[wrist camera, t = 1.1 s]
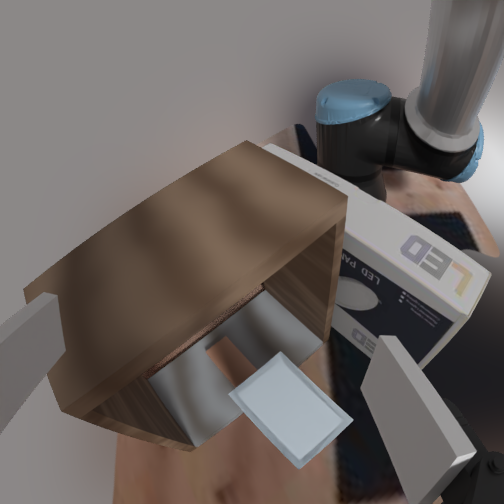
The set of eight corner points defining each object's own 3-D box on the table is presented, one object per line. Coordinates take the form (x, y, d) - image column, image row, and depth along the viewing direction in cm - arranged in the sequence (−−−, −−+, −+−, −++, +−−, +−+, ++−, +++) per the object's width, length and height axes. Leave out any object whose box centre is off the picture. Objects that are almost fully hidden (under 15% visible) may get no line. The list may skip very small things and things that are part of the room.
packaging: (255, 263, 53) (233, 163, 38) (282, 242, 55) (270, 141, 40) (404, 386, 36) (469, 318, 21) (428, 353, 38) (492, 272, 23)
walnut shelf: (271, 288, 49) (246, 140, 29) (328, 339, 43) (348, 195, 23) (144, 386, 41) (23, 289, 21) (190, 452, 35) (61, 411, 15)
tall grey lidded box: (287, 391, 39) (280, 351, 27) (334, 437, 34) (353, 419, 22) (252, 420, 37) (227, 394, 25) (298, 468, 32) (298, 469, 20)
